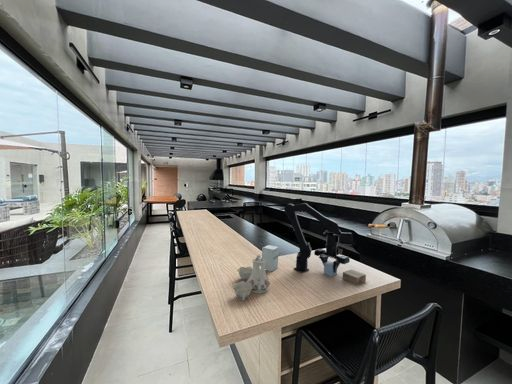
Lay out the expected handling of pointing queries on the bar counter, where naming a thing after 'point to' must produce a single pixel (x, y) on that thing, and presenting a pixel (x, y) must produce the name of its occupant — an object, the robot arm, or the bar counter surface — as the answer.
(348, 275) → the walnut block
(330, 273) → the slate block
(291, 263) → the bar counter surface
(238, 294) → the grey lumpy piece
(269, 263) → the supplement box
